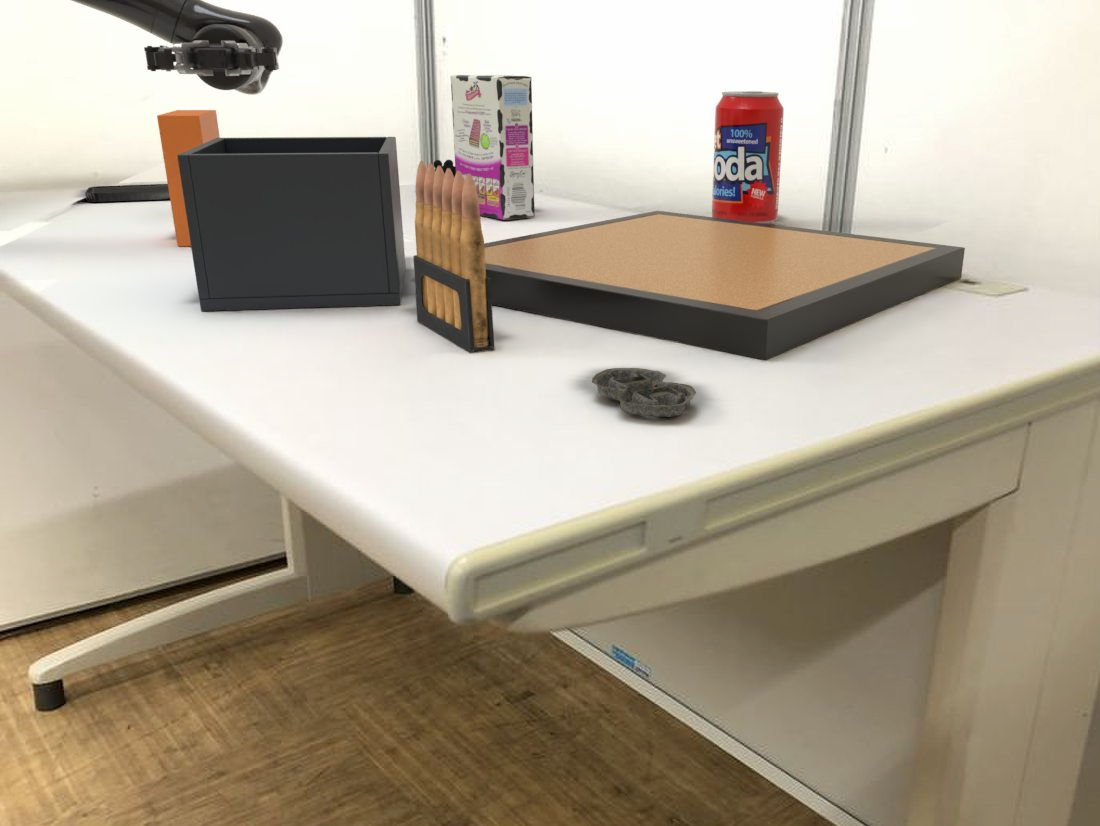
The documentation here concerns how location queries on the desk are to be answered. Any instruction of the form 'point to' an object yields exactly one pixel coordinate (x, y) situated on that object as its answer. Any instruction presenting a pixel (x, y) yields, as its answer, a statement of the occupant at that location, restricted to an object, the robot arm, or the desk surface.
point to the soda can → (747, 156)
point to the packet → (178, 137)
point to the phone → (127, 193)
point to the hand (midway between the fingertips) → (202, 59)
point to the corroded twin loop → (644, 391)
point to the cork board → (713, 278)
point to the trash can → (294, 222)
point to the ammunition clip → (451, 260)
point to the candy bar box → (495, 141)
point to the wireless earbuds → (445, 166)
